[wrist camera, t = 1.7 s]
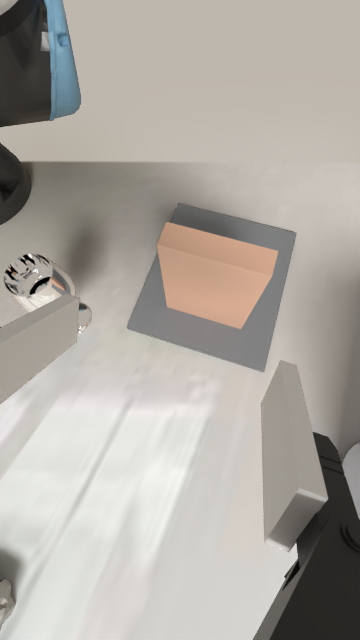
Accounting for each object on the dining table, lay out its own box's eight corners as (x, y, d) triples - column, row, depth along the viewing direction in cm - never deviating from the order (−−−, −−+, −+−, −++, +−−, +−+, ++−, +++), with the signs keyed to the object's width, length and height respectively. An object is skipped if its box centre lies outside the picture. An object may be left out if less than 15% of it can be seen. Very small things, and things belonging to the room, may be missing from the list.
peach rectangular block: (240, 329, 36) (272, 276, 23) (167, 307, 38) (156, 244, 24) (246, 309, 37) (279, 247, 24) (174, 288, 38) (167, 218, 25)
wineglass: (73, 348, 36) (22, 314, 25) (44, 320, 38) (-16, 277, 27) (105, 316, 38) (71, 271, 27) (76, 290, 39) (32, 237, 28)
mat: (263, 372, 35) (264, 371, 34) (127, 328, 37) (126, 327, 37) (295, 235, 42) (296, 233, 41) (178, 205, 44) (178, 203, 43)
